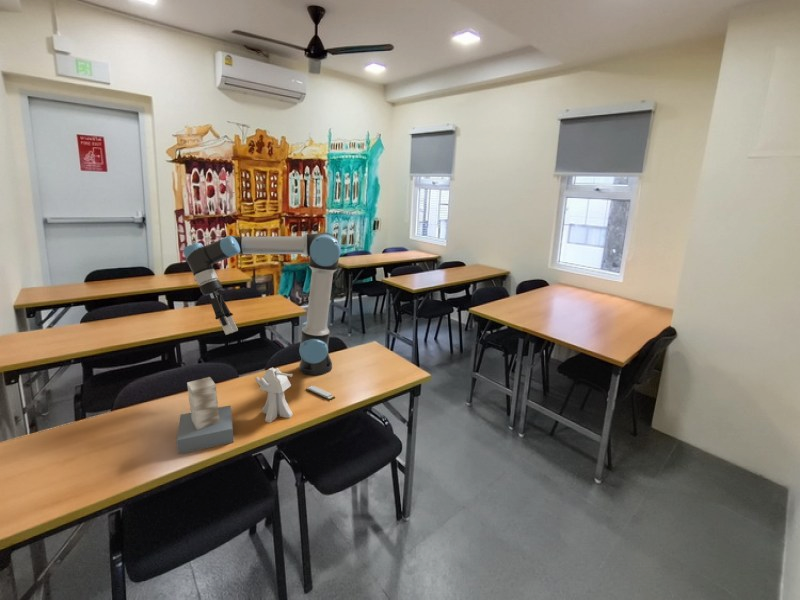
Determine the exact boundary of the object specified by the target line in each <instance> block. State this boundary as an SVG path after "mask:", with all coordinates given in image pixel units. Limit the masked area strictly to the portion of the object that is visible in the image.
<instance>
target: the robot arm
mask: <svg viewBox="0 0 800 600" xmlns="http://www.w3.org/2000/svg"><path fill="white" fill-rule="evenodd" d="M341 249H342V248H341V245H340V243H339V240H338V238H337V237H336V236H335V235H334V234H332V233H330V232H319V233H306V234H304V235H303V236H302V235H298V236H291V235H290V236H284V235H282V236H281V235H280V236H275V235H274V236H269V235H268V236H265V235H264V236H236V235H227V236H225V237H222V238H220V239H218V240H216V241H214V242H212V243H208V244H207V245H203V244H202V243H201V242H197V243H196V242H195V243H193V244H192V243H191V244H189V245H186V246H185V247H184V248H183V250H182V253H183V255H184V257H185V261H186V262H187V264H188V267H189V268H190V270H191V272H192V274H193V276H194V279H193V280H194V282H196V283H197V285H198V286H199V289H200V292H201V293H202V295H203V296H207V297H208V299H209V301H210V304H211V307H212V309H213V312H214V315H215V317H214V318H215V320H216V321H217V320H218V321H219V324H220V325H221V328H222V330H223V332H224V334H225V336H227V335H230V334H233V333H235V332H238V331H239V329H238V327H237V324H236V323H235V320H234V318H233V316H234V314H233V312H231V311H230V309H229V308H228V306H227V304H226V301H225V300H224V298H223V295H222V294H221V293H219V291H221V290H222V289H223V286H222V283H221V281H220V280H219V277H218V275H217V272H216V270H215V268H214V265H215V264H217V263H219V262H222V261H224V260H225V261H226V260H227V259H229V258H234V256H237V255H238V256H239V255H304V256H307V257H309V259H308V260H309V262H308V267H309V268H310V270H311V279H310V284H309V297H308V303H307V304H308V305H307V314H306V321H305V322H303V323H301V335H300V344H299V348H298V351H299V355H300V358H301V360H300V362H299V372H300V373H301V372H302V373H301V374H303V375H306V376H319V375H320V374H321V375H324V373H325V374H327V373H329V372H331V371H332V369H333V362H332V360H331V357H330V354H329V340H330V331H331V330H329V327H328V321H329V319H328V318H329V311H330V304H331V303H330V302H331V297H332V296H331V295H332V287H333V285H332V284H333V277H334V273H336V271H337V270H338V267H339V261H340V256H341V254H342V253H341ZM326 372H327V373H326ZM321 375H320V376H321Z"/></svg>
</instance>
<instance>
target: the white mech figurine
mask: <svg viewBox="0 0 800 600" xmlns="http://www.w3.org/2000/svg"><path fill="white" fill-rule="evenodd" d="M288 377H289V378H293V373H284V372H282V371H280V369H279V368H278V367H276V368H274V367H273V366H272V367H270V368H268V369H267V370H266V371H265V373H264V375H263V376H262V377H259V376H256V377H254V380H255V382H257V384H258V385H260V386H259V390H260V391H263V392H267V397H266V402H265V403H264V406H263V408H262V409H261V413H263V414H266V416H265V419H264V420H265V422H266V423H272V422H273V421H274V420H276V419H277V417H278V418H279V417H283V418H286V419H290V418H292V417H293V416H294V414H293V412H292V410H291V408H290V406H289V403H288V402H287V400H286V396H285V391H287V390H288V389H290V387H291V386H292V384H291V382H290V380H289V379H288Z"/></svg>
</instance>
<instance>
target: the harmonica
mask: <svg viewBox="0 0 800 600" xmlns="http://www.w3.org/2000/svg"><path fill="white" fill-rule="evenodd" d="M305 391H307V392H309V393H312V394H314V395H317V396H319V397H320V398H323V397H324V398H325V400H326V399H327V400H326V401H329V402H330V400H331V401H333V400H334V399H336V397H335V395H332V393H331V392H328V391H326V390H324V389H323V388H320V387H317V386H315V385H310V386H307V387H306V388H305ZM324 398H323V399H324Z"/></svg>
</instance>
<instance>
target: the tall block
mask: <svg viewBox="0 0 800 600" xmlns="http://www.w3.org/2000/svg"><path fill="white" fill-rule="evenodd" d="M186 385H187V392H188V393H187V394H188V401H189V408H190V409H189V410H190V413H191V417H192V421H193V423H194V425H195V427H196V429H197V430H198V429H201V428H204V427H207V426H210V425H213V424H216V423H219V422H220V419H219V410H218V408H219V402H218V395H217V394H218V393H217V385H216V383H215V382H214V380H213V379H212V377H210V376H208V377H203V378H200V379H195V380H192V381H188V382H186Z"/></svg>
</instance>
